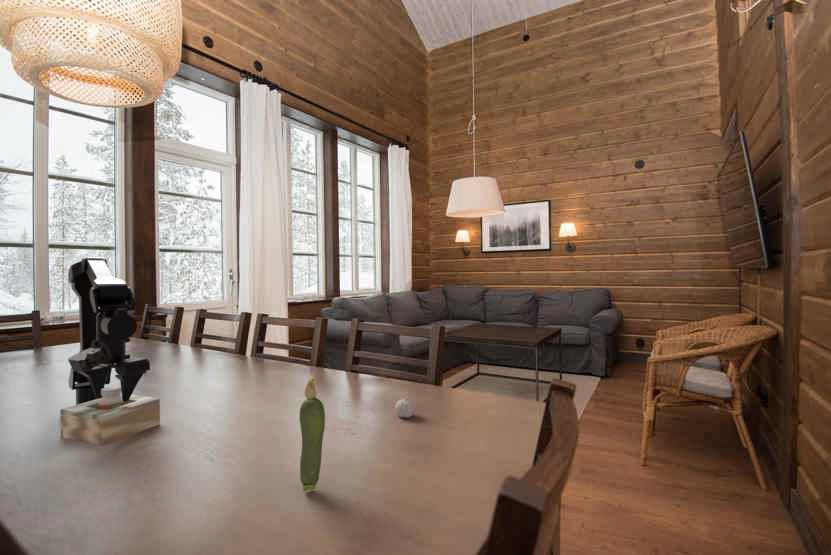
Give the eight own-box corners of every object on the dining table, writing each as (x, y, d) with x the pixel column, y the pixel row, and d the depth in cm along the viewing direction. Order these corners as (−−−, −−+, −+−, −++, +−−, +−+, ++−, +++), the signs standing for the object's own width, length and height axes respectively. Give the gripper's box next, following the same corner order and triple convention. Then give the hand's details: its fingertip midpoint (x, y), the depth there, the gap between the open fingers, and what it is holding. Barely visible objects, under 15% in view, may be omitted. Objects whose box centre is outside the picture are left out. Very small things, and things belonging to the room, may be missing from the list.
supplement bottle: (112, 433, 101) (110, 391, 100) (93, 431, 102) (91, 390, 102) (131, 424, 106) (130, 385, 106) (113, 422, 107) (112, 384, 107)
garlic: (420, 416, 114) (420, 397, 114) (406, 422, 110) (406, 401, 110) (404, 411, 118) (404, 392, 118) (390, 416, 114) (390, 396, 114)
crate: (60, 437, 99) (60, 409, 99) (119, 417, 113) (119, 392, 113) (103, 445, 95) (102, 416, 95) (159, 424, 108) (159, 398, 108)
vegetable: (302, 483, 78) (301, 373, 78) (326, 482, 78) (326, 373, 78) (297, 496, 74) (297, 380, 73) (323, 495, 74) (323, 379, 74)
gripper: (47, 337, 99) (48, 405, 99) (104, 342, 93) (105, 414, 93) (97, 331, 109) (98, 392, 110) (151, 335, 103) (152, 399, 103)
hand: (111, 399), depth 104 cm, fingers open, 9 cm apart
